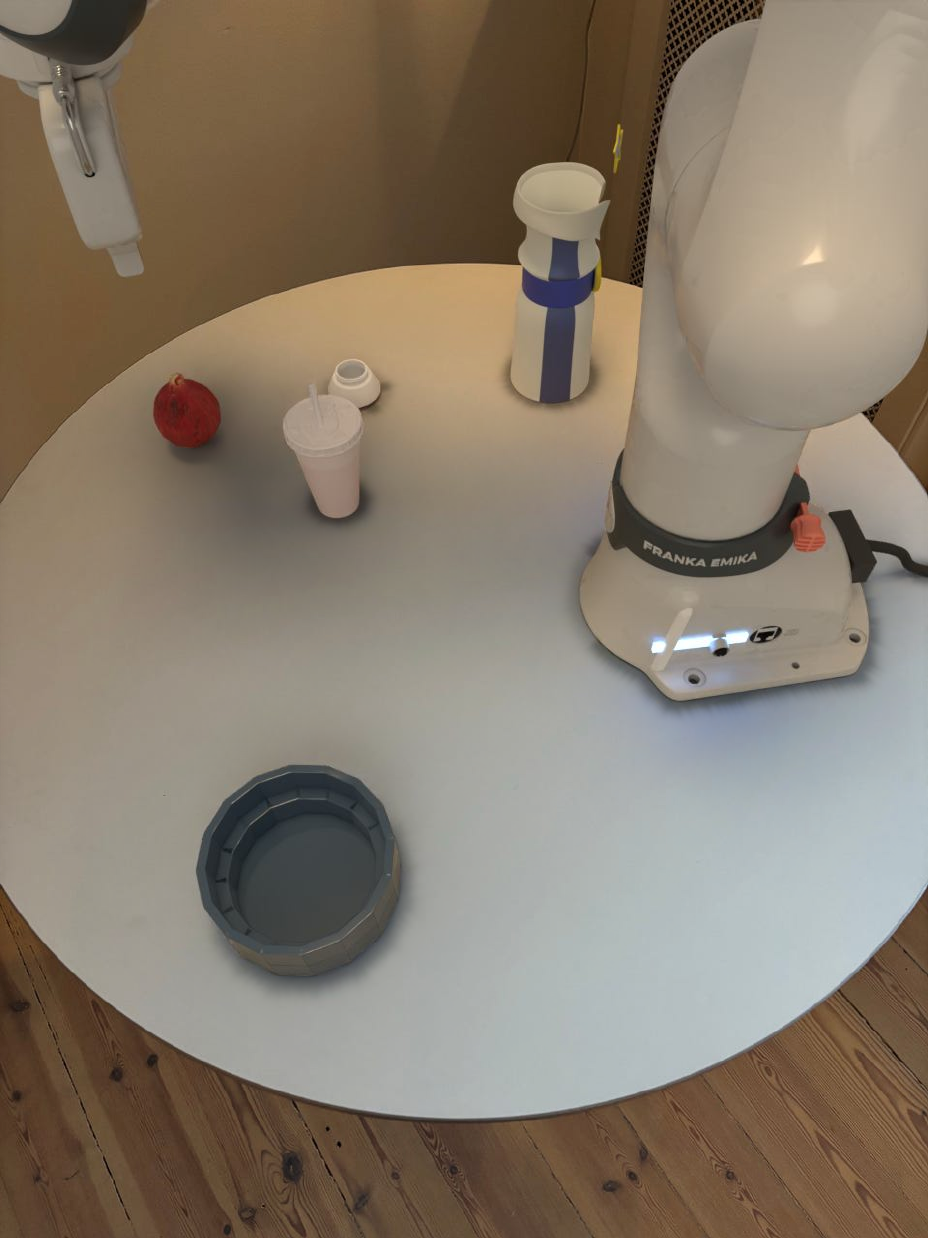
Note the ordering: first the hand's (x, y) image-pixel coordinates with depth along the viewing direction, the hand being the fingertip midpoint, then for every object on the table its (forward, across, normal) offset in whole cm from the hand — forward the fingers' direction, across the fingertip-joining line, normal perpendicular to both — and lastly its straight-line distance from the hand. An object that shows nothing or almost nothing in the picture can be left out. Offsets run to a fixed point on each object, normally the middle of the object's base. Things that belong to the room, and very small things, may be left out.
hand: (124, 231), depth 65 cm
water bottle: (+23, 0, -34) cm, 41 cm away
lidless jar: (+23, +4, -16) cm, 28 cm away
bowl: (+23, -42, -1) cm, 48 cm away
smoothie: (+23, -9, -11) cm, 27 cm away
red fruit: (+23, +2, 0) cm, 23 cm away
